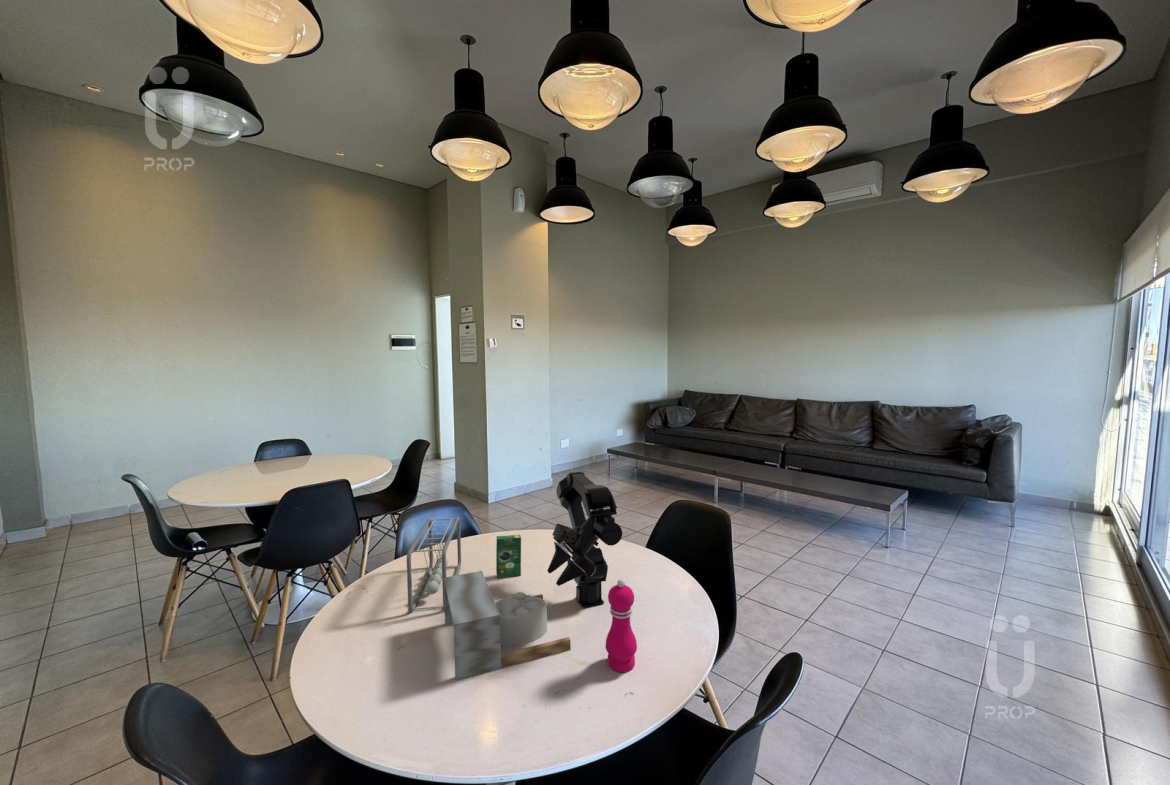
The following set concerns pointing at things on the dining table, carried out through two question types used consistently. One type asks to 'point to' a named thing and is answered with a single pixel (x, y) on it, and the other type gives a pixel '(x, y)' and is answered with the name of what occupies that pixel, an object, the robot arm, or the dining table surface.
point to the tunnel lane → (483, 628)
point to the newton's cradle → (440, 566)
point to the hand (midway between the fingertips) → (552, 578)
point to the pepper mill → (621, 629)
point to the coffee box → (508, 556)
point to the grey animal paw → (521, 619)
